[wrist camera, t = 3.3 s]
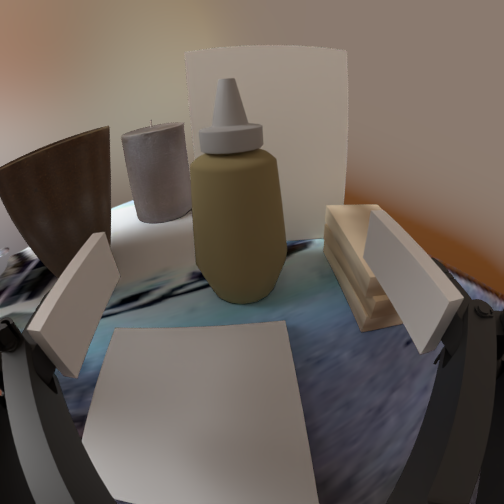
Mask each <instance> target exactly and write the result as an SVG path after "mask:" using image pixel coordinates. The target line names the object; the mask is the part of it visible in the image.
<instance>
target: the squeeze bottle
mask: <svg viewBox="0 0 504 504" xmlns="http://www.w3.org/2000/svg"><path fill="white" fill-rule="evenodd" d="M199 140H200V149H201V152H203V153H205V154H203V155H201V156H199V157H198V158H196V159H195V161H194V162H192V164H191V165H190V177H191V199H192V217H193V232H194V245H195V257H196V265H197V266H198V268H199V269H200V271H201V272H202V274H203V276H204V277H205V279H206V280H207V282H208V283H209V285H210V286H211V288H212V289H213V291H214V292H215V293H216V294H217V295H218V296H219V298H221V299H223V300H225V301H227V302H230V303H238V304H246V303H252V302H257V301H259V300H261V299H262V298H264V297H266V296H268V294H269V293H270V292H271V291H272V290H273V289H274V286H275V284H276V282H277V279H278V277H279V275H280V272H281V270H282V267H283V265H284V263H285V260H286V254H287V243H286V233H285V224H284V215H283V206H282V198H281V190H280V182H279V174H278V166H277V159H276V158H275V157H274V156H273V155H271V154H270V153H269V152H267V151H266V150H262V149H259V148H261V147H262V146H263V126H262V125H260V124H254V123H248V120H247V117H246V113H245V110H244V107H243V103H242V100H241V97H240V93H239V90H238V87H237V84H236V80H235V78H227V79H219V80H218V85H217V91H216V98H215V105H214V112H213V120H212V126H211V127H207V128H203V129H201V130H199Z"/></svg>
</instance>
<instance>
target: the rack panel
mask: <svg viewBox="0 0 504 504" xmlns="http://www.w3.org/2000/svg"><path fill="white" fill-rule="evenodd" d="M185 66H186V79H187V90H188V101H189V111H190V120H191V130H192V139H193V147H194V156H195V159H196V158H198V157H199V156H201V155H203V154H205V153H203V152H201V149H200V140H199V130H201V129H203V128H207V127H211V126H212V120H213V112H214V105H215V98H216V91H217V85H218V80H219V79H227V78H235V80H236V84H237V87H238V90H239V93H240V97H241V100H242V103H243V107H244V110H245V113H246V117H247V120H248V123H254V124H260V125H262V126H263V146H262V147H261V148H259V149H262V150H266V151H267V152H269V153H270V154H271V155H273V156H274V157H275V158H276V159H277V166H278V174H279V182H280V190H281V198H282V206H283V215H284V224H285V233H286V241H293V240H307V239H320V238H324V227H325V224H326V222H325V215H326V205H343V204H344V192H345V180H346V165H347V144H348V66H347V51H346V50H340V49H331V48H322V47H310V46H292V45H251V46H234V47H221V48H211V49H203V50H197V51H189V52H185Z"/></svg>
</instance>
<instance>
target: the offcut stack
mask: <svg viewBox="0 0 504 504" xmlns="http://www.w3.org/2000/svg"><path fill="white" fill-rule="evenodd" d="M371 210H382V209H381V208H380V207H379V206H378V205H326V215H325V222H326V224H325V227H324V238H323V239H324V248H323V252H324V254H325V256H326V258H327V260H328V262H329V264H330V266H331V268H332V270H333V272H334V274H335V276H336V278H337V280H338V282H339V284H340V287H341V289H342V291H343V293H344V295H345V297H346V299H347V302H348V304H349V306H350V308H351V310H352V313H353V315H354V317H355V319H356V322H357V324H358V326H359V328H360V331H361V332H366V331H371V330H376V329H381V328H386V327H390V326H395V325H399V324H403V322H402V320H401V318H400V317H399V315H398V313H397V311H396V310H395V308H394V306H393V305H392V303H391V301H390V300H389V298H388V296H387V295H386V293H385V291H384V290H383V288H382V286H381V285H380V283H379V282H378V280H377V278H376V277H375V275H374V274H373V272H372V271H371V269H370V267H369V266H368V264H367V263H366V261H365V260H364V258H363V254H364V249H365V243H366V238H367V232H368V226H369V219H370V213H371Z"/></svg>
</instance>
